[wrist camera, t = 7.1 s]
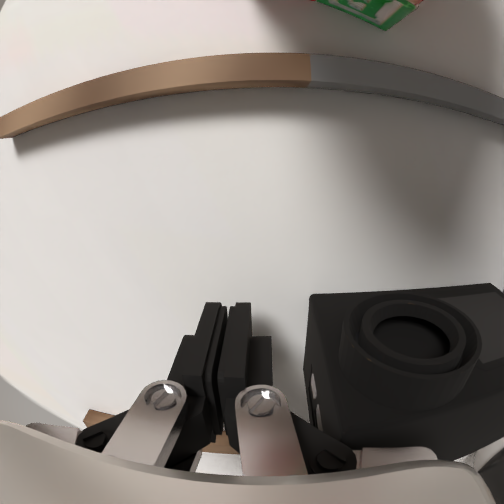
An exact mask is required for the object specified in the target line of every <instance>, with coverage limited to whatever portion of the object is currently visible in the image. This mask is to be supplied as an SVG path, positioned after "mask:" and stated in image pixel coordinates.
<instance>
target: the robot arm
mask: <svg viewBox="0 0 504 504" xmlns="http://www.w3.org/2000/svg"><path fill="white" fill-rule="evenodd" d="M223 425H224V426H225V432H226V435H228V439H229V445H230V446H231V447H232V448H233V449H234V450H236V451H237V452H238V453H239V454H240V456H241V464H242V472H243V476H231V475H216V474H205V473H196V472H195V471H196V469H197V466H198V464H199V461H200V458H201V456H202V448H204V447H206V446H207V445H209V444H210V443H215V442H216V436H217V435H222V432H223ZM0 504H496V502H495V500H494V498H493V496H492V494H491V492H490V490H489V488H488V487H487V485H486V483H485V482H484V480H483V478H482V477H481V476H480V474H479V473H478V472H477V471H476V470H475V469H473V468H472V467H471V466H469V465H466V464H464V463H460V462H455V461H448V460H438V459H437V456H436V454H435V453H434V452H433V451H432V450H430V449H428V448H426V447H400V448H362V450H352V449H350V448H349V447H348V446H347V445H345V444H343V443H341V442H340V441H338V440H336V439H334V438H333V437H331V436H329V435H327V434H326V433H324V432H322V431H321V430H319V429H317V428H316V427H314V426H313V425H311V424H309V423H308V422H306V421H304V420H303V419H301V418H300V417H298V416H297V415H295V414H293V413H292V412H290V410H289V406H288V403H287V399H286V397H285V395H284V394H283V393H282V392H281V391H280V390H279V389H277V388H275V387H273V380H272V346H271V336H258V337H252V320H251V303H236V306H230V311H229V316H227V307H226V306H222V305H221V303H220V302H206V304H205V307H204V310H203V312H202V315H201V318H200V321H199V324H198V327H197V330H196V333H195V335H185V336H184V337H183V339H182V342H181V344H180V347H179V349H178V352H177V355H176V357H175V360H174V363H173V365H172V368H171V371H170V373H169V376H168V379H167V380H161V381H156V382H153V383H151V384H149V385H148V386H146V387H145V388H144V389H143V390H142V391H141V393H140V394H139V396H138V397H137V399H136V401H135V402H134V404H133V405H132V407H131V408H130V409H129V410H127V411H125V412H123V413H120V414H118V415H116V416H113V417H111V418H109V419H106V420H104V421H102V422H99V423H97V424H94V425H92V426H90V427H88V428H86V429H84V430H83V431H80V429H79V428H74V427H64V426H55V425H48V424H41V423H31V424H28V425H26V426H23V425H20V424H16V423H12V422H7V421H2V420H0Z"/></svg>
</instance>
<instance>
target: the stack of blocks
mask: <svg viewBox="0 0 504 504" xmlns="http://www.w3.org/2000/svg"><path fill="white" fill-rule="evenodd" d="M311 1H317V2H320V3H323V4H325V5H328V6H331V7H333V8H336V9H338V10H341V11H343V12H346V13H348V14H350V15H353V16H355V17H357V18H359V19H362V20H364V21H366V22H368V23H370V24H372V25H374V26H376V27H378V28H380V29H382V30H384V31H387V30H388V29H390V28H391V27H392V26H393V25H395V24H396V23H398V22H399V21H401V20H402V19H403V18H405V17H406V16H407V15H409V14H410V13H411V12H413V11H414V10H416V9H417V8H418V7H419V3H420V2H422V1H423V0H311Z"/></svg>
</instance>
